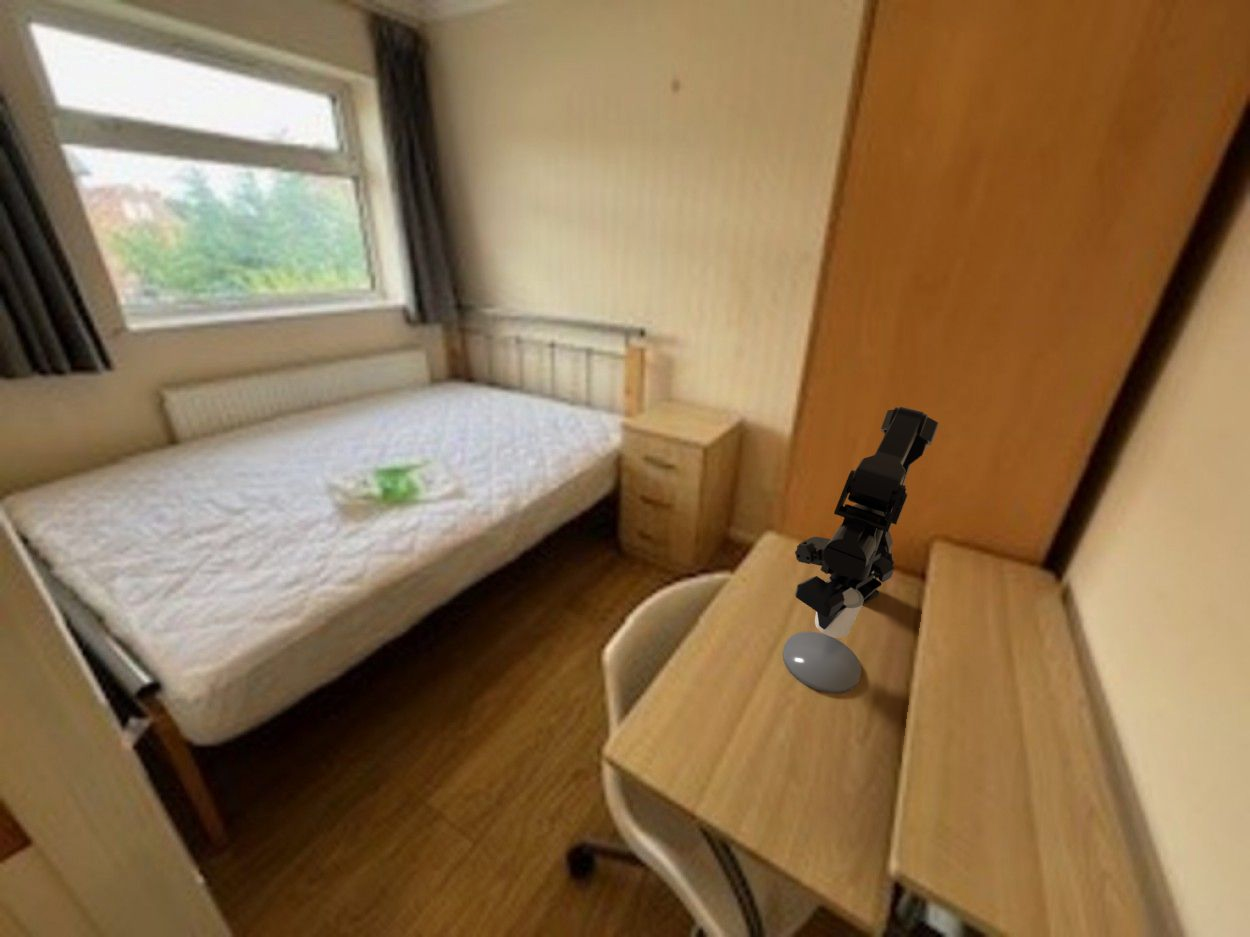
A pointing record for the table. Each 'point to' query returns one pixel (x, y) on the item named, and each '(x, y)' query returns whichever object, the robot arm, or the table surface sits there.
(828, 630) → the white cup
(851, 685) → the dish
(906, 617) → the table surface
